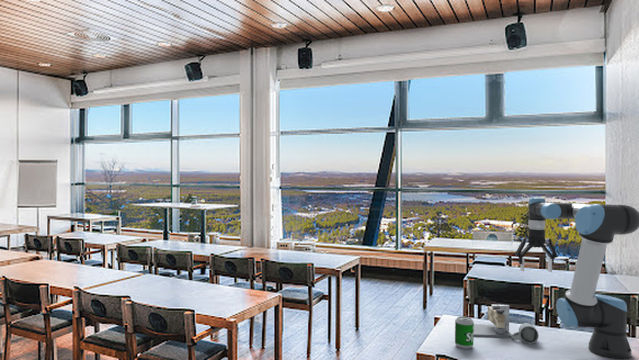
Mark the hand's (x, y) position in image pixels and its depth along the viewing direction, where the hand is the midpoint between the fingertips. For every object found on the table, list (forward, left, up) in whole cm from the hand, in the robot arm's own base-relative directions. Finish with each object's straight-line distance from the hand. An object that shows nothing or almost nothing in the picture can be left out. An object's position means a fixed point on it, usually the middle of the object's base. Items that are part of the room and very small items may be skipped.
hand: (536, 271), depth 222 cm
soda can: (-33, +45, -27) cm, 62 cm away
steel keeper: (-14, +23, -27) cm, 38 cm away
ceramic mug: (-23, +15, -27) cm, 39 cm away
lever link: (-12, +24, -23) cm, 35 cm away
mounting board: (-12, +28, -27) cm, 41 cm away
